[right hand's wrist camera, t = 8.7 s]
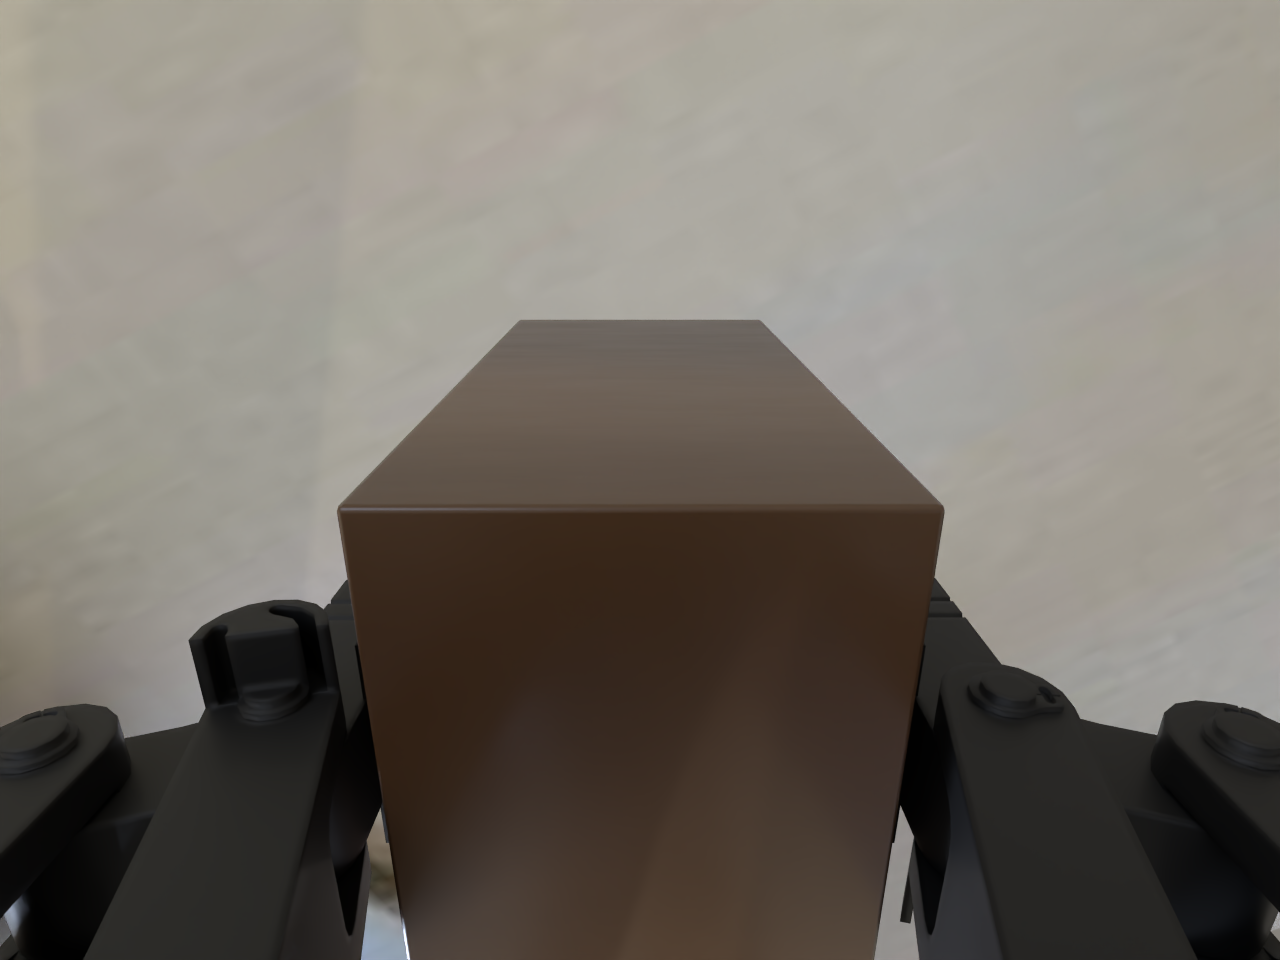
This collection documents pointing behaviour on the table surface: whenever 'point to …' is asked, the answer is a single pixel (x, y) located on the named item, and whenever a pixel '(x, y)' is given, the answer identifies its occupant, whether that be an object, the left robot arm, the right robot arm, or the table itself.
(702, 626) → the bar
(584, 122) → the table surface
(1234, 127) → the table surface
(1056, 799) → the right robot arm
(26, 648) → the table surface
